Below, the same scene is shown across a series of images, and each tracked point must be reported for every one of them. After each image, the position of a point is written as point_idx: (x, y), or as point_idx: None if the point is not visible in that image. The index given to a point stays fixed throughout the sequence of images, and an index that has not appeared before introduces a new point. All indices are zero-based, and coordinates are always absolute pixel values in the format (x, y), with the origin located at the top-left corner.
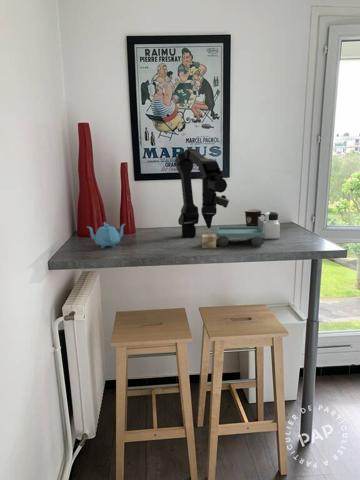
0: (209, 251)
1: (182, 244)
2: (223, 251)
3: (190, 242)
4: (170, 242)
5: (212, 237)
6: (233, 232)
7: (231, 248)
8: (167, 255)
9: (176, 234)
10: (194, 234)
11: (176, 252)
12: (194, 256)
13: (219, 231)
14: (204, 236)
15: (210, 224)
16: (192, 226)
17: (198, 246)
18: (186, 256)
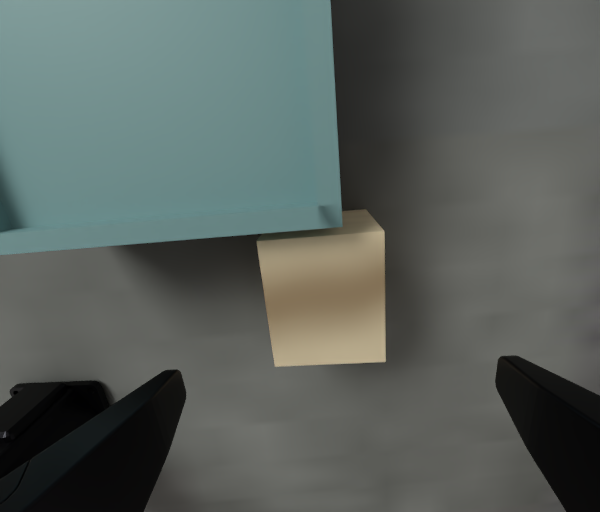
0: (473, 251)
1: (288, 428)
2: (483, 136)
3: (230, 391)
4: (250, 487)
5: (384, 266)
6: (130, 8)
7: (384, 65)
8: (540, 474)
9: None
10: (64, 394)
11: (479, 440)
12: (594, 338)
13: (120, 210)
14: (363, 344)
15: (594, 404)
16: (15, 465)
17: None
18: (583, 382)
